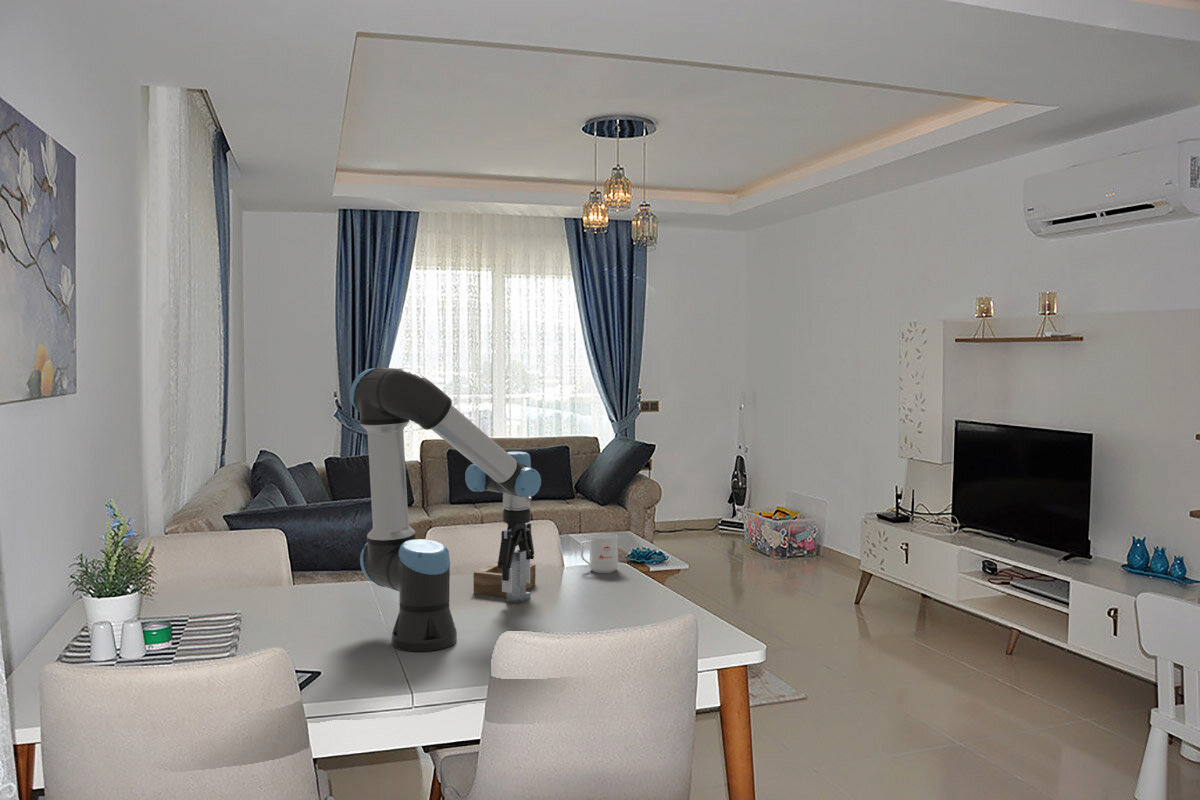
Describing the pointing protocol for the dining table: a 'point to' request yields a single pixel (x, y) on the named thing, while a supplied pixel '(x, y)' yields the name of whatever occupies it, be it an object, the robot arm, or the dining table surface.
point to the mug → (602, 552)
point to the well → (495, 580)
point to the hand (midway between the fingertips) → (516, 587)
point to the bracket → (518, 579)
